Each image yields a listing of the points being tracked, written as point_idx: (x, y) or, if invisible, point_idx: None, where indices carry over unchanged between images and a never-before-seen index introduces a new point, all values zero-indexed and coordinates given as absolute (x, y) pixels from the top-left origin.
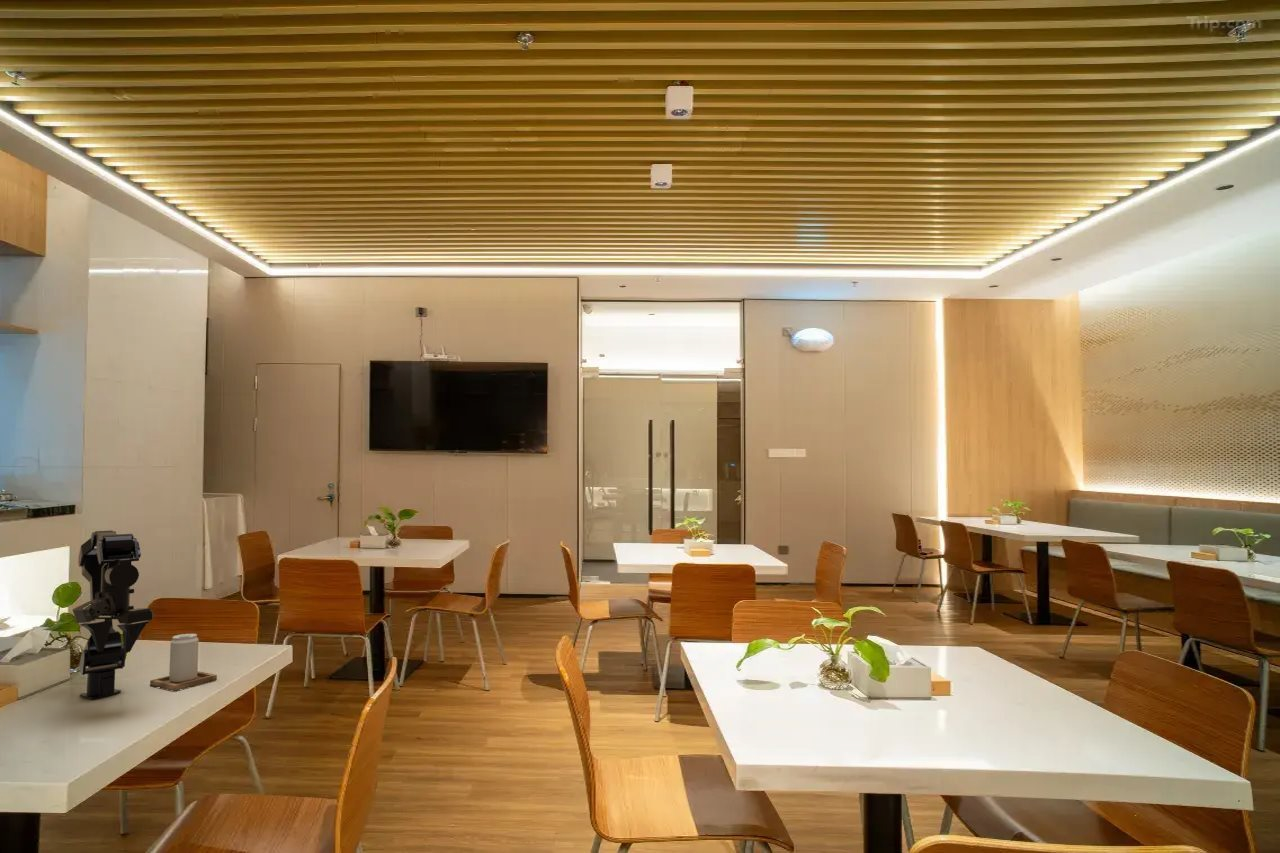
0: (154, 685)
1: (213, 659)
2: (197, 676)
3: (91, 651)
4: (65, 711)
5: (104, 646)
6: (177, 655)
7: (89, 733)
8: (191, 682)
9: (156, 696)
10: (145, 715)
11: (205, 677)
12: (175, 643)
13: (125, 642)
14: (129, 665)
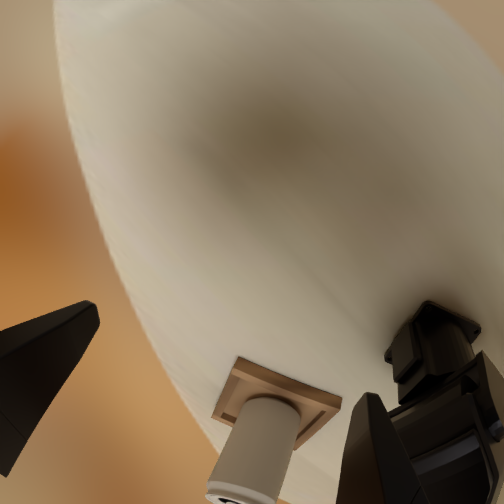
0: (324, 395)
1: (328, 488)
2: None
3: (468, 430)
4: (436, 186)
5: (347, 438)
6: (243, 454)
7: (162, 20)
8: (224, 388)
9: (254, 326)
10: (140, 168)
11: (218, 408)
12: (238, 485)
13: (25, 325)
14: None
